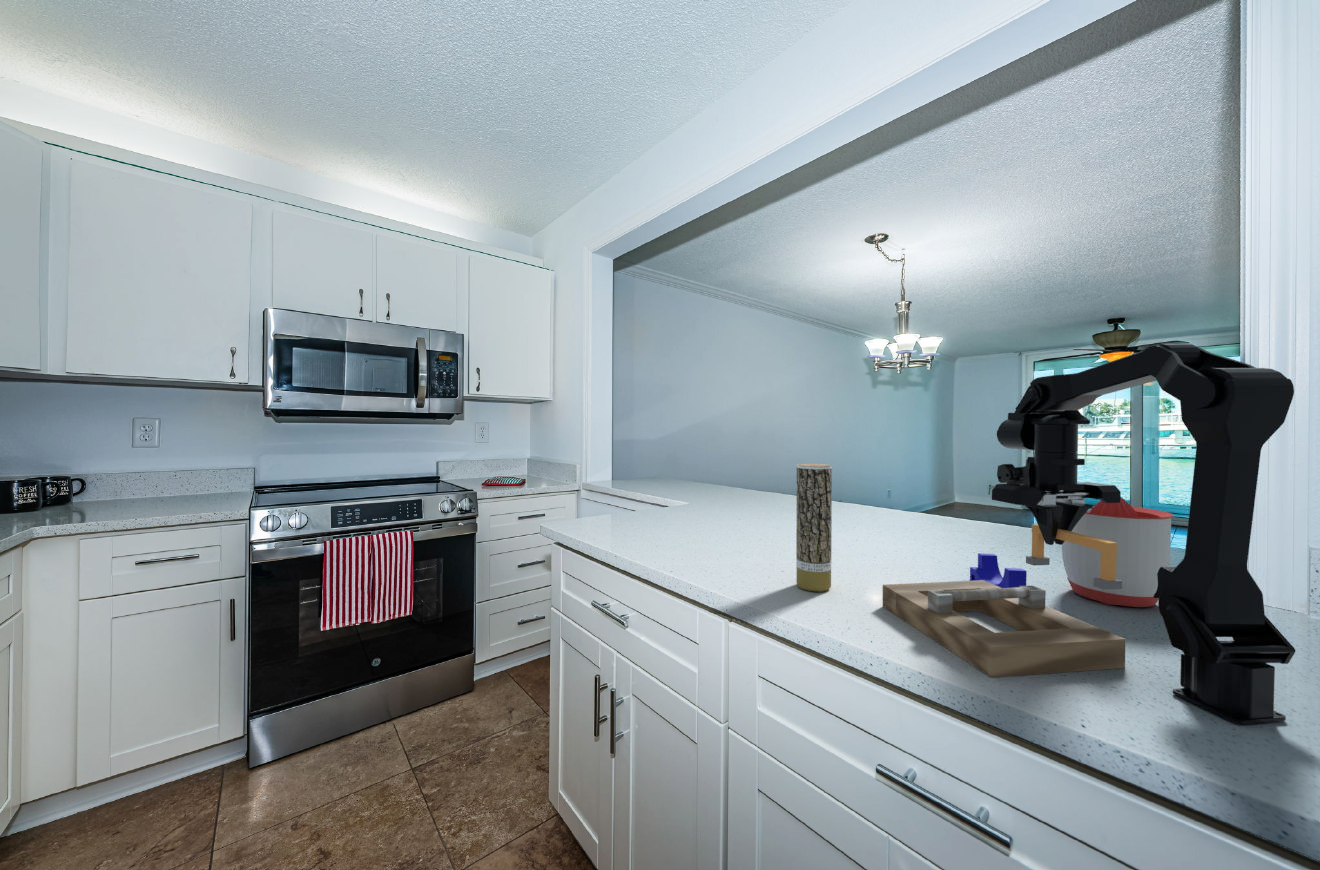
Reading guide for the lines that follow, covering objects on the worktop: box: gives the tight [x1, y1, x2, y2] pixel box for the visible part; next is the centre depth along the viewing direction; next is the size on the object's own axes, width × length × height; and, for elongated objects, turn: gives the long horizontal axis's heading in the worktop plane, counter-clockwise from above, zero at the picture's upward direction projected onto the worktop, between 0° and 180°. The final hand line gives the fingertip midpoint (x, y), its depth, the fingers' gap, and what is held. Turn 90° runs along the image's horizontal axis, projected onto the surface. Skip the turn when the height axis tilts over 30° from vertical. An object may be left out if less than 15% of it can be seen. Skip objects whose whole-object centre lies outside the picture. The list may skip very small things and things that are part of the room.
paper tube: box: [795, 463, 833, 593], centre depth 99 cm, size 7×7×25 cm
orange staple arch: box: [1025, 523, 1122, 590], centre depth 79 cm, size 14×3×7 cm, turn 6°
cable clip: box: [969, 553, 1028, 588], centre depth 97 cm, size 12×4×6 cm, turn 171°
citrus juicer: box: [1061, 497, 1174, 608], centre depth 93 cm, size 16×17×20 cm
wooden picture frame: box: [882, 580, 1126, 678], centre depth 77 cm, size 25×20×7 cm
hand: (1053, 544), depth 82 cm, fingers closed on orange staple arch
